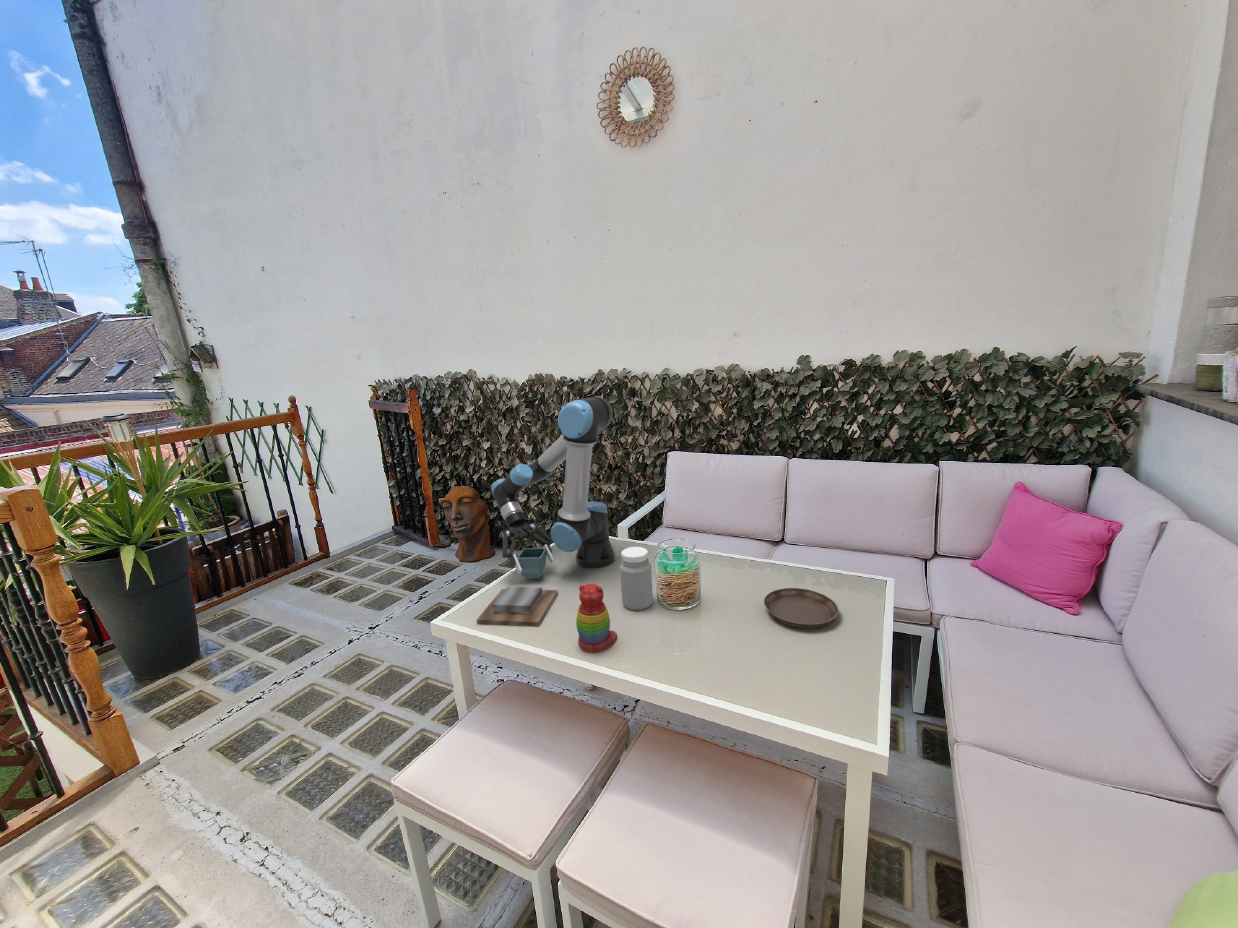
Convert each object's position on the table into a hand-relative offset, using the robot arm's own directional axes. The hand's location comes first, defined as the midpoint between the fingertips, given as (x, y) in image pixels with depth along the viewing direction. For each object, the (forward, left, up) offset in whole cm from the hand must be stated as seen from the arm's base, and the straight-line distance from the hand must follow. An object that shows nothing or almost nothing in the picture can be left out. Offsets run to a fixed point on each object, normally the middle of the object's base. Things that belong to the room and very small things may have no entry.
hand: (536, 566), depth 180 cm
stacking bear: (-29, +36, -6) cm, 47 cm away
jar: (-38, +14, -6) cm, 41 cm away
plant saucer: (-87, +17, -6) cm, 89 cm away
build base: (0, +19, -6) cm, 20 cm away
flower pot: (+2, -2, -5) cm, 5 cm away
